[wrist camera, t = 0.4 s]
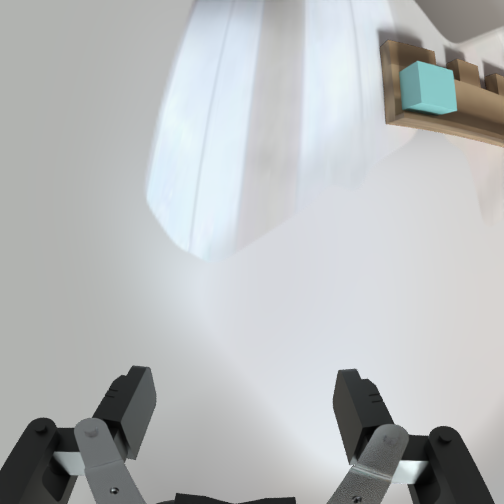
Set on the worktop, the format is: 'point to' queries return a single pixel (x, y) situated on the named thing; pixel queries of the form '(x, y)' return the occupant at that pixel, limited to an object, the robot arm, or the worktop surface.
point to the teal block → (427, 89)
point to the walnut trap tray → (467, 97)
